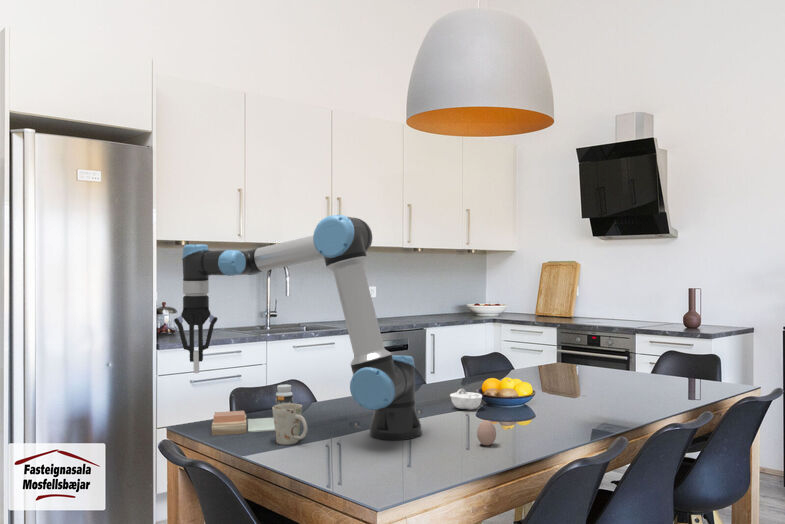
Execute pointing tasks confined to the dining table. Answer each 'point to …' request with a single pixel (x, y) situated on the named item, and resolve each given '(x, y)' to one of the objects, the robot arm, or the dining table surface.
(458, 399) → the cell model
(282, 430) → the mug
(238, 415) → the tile
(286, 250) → the robot arm
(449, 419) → the dining table surface
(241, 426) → the tan wooden flat block
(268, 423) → the mat
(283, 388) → the pill bottle
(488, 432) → the egg
